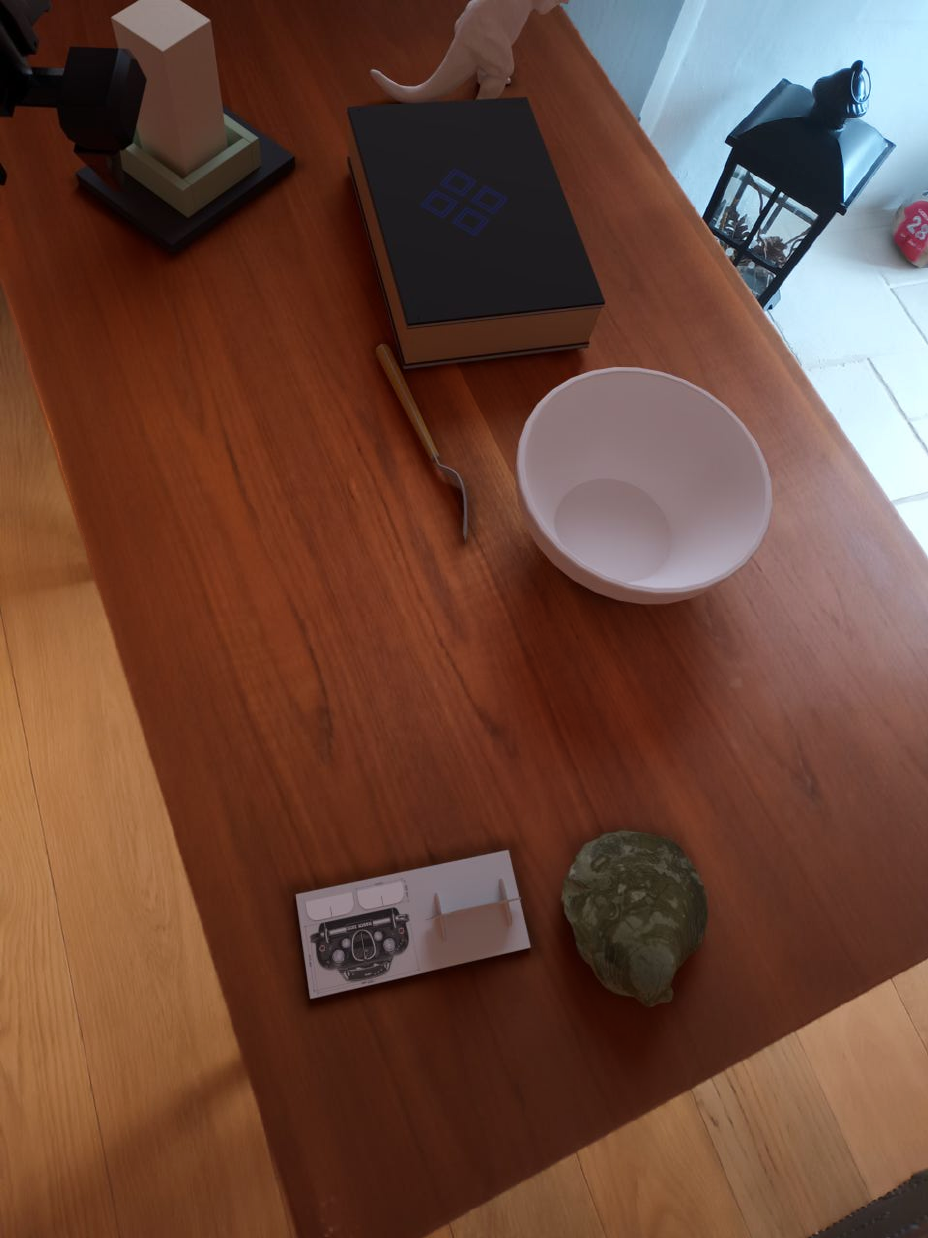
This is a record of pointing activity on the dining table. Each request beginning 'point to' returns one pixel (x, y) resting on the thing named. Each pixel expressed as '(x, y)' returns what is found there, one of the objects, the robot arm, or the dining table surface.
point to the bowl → (641, 485)
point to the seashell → (635, 912)
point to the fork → (416, 416)
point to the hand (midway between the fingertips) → (61, 183)
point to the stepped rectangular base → (192, 185)
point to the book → (470, 231)
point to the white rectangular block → (175, 82)
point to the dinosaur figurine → (475, 51)
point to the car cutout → (410, 923)
